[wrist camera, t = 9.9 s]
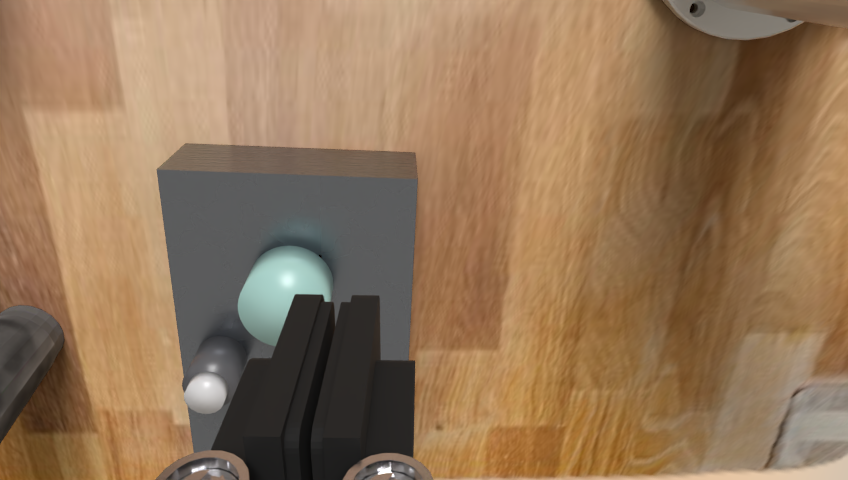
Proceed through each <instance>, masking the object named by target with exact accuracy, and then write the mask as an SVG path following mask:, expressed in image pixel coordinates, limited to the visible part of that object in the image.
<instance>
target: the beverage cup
mask: <svg viewBox="0 0 848 480" xmlns="http://www.w3.org/2000/svg"><path fill="white" fill-rule="evenodd" d="M63 343H64V335H63V331H62V329H61V327H60V325H59V323H58V322H57V321H56V320H55V319H54V318H53V317H52V316H51V315H49V314H48V313H46V312H44V311H43V310H41V309H38V308H35V307H32V306H22V305H19V306H14V307H10V308H8V309H6V310H4V311H3V312H1V313H0V443H1V442H2V440H3V439H4V437H5V436H6V434H7V433H8V431H9V430H10V428H11V426H12V425H13V423H14V422H15V420H16V419H17V417H18V416H19V414H20V413H21V411H22V410H23V408H24V407H25V405H26V404H27V402H28V401H29V399H30V398H31V396H32V395H33V393H34V392H35V390H36V389H37V387H38V386H39V384H40V383H41V381H42V380H43V378H44V377H45V375H46V374H47V372H48V371H49V369H50V368H51V366H52V364H53V363H54V360H55V358H56V356H57V355H58V353H59V351H60V350H61V349H62V347H63Z"/></svg>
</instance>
